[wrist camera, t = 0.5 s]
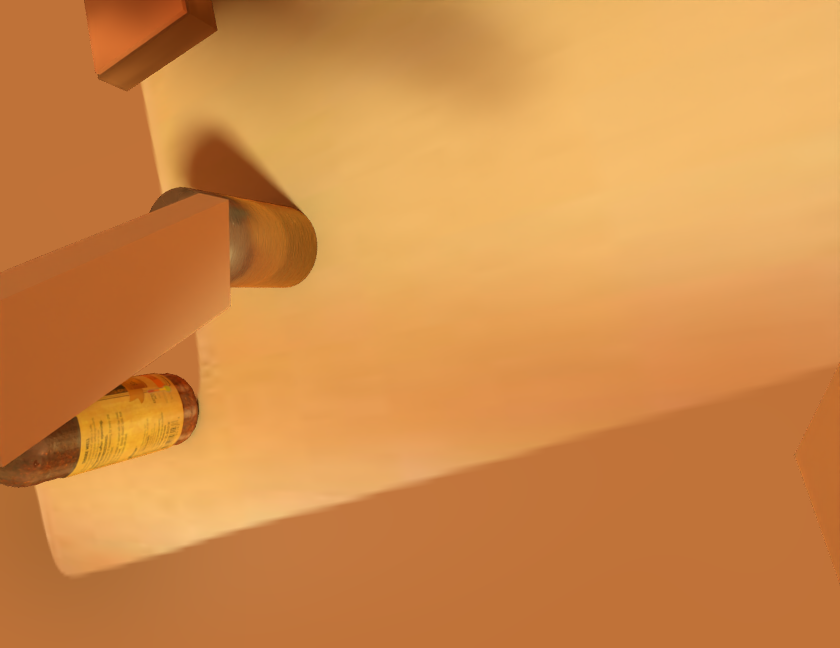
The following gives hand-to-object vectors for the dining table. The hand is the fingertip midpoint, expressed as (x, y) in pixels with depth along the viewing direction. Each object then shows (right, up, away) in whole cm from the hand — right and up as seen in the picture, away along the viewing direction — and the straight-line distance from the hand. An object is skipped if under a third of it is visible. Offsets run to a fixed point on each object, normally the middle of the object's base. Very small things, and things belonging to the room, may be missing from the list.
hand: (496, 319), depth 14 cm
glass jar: (-12, +6, +34) cm, 36 cm away
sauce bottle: (-22, -7, +40) cm, 46 cm away
